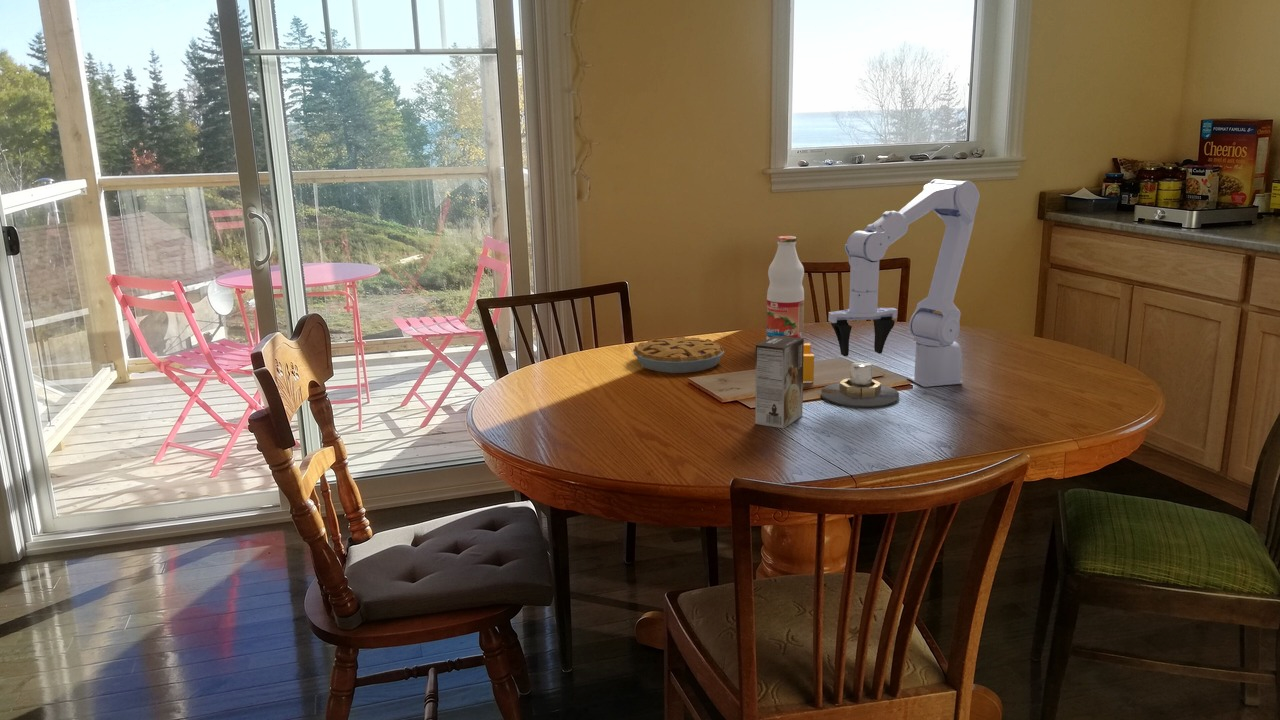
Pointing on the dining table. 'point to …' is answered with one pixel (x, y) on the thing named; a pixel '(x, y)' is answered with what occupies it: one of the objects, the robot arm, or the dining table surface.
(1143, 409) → the dining table surface
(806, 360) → the pipe clamp
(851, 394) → the ring collar
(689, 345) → the pie
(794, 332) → the fruit juice
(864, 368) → the piston
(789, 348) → the coffee box
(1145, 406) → the dining table surface
